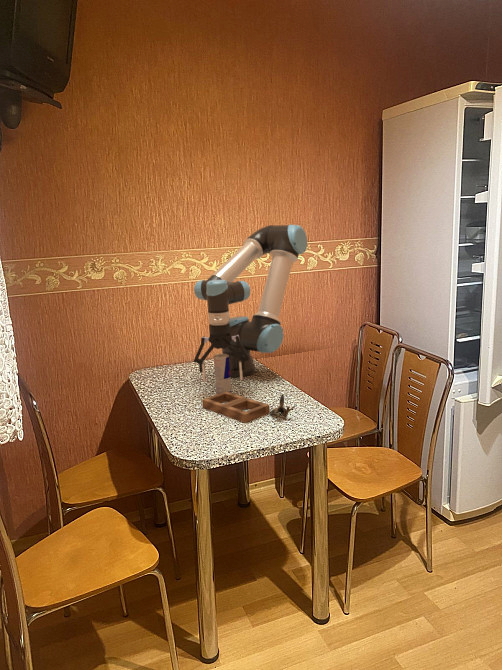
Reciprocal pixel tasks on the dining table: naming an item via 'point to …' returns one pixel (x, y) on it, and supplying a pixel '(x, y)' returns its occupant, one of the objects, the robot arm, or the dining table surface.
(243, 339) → the robot arm
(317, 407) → the dining table surface
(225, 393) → the walnut holder board
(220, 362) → the beverage can
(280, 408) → the eagle figurine
